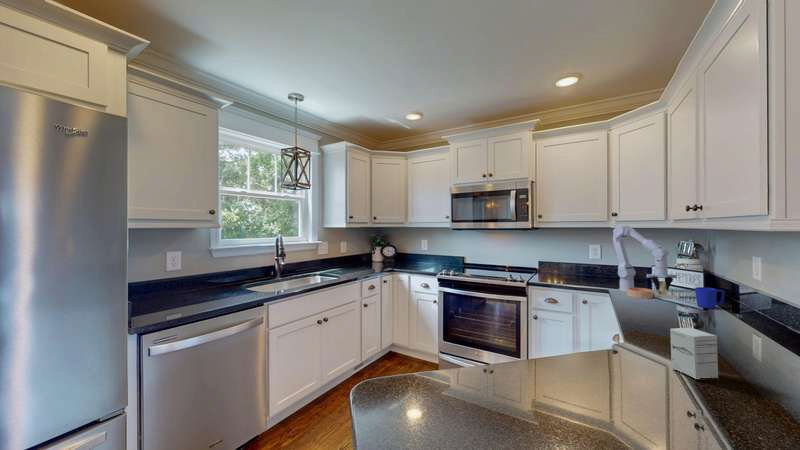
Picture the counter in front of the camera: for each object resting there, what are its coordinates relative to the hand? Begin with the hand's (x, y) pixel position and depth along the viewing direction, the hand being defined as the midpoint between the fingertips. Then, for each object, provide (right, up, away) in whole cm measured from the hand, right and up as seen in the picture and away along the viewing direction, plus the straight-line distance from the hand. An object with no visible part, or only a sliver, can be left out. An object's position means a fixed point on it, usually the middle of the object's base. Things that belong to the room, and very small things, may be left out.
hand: (662, 289), depth 187 cm
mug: (+3, -4, -27) cm, 27 cm away
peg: (0, -3, 0) cm, 3 cm away
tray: (0, -4, 0) cm, 4 cm away
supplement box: (-75, -5, -98) cm, 123 cm away
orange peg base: (-13, -5, +1) cm, 14 cm away
